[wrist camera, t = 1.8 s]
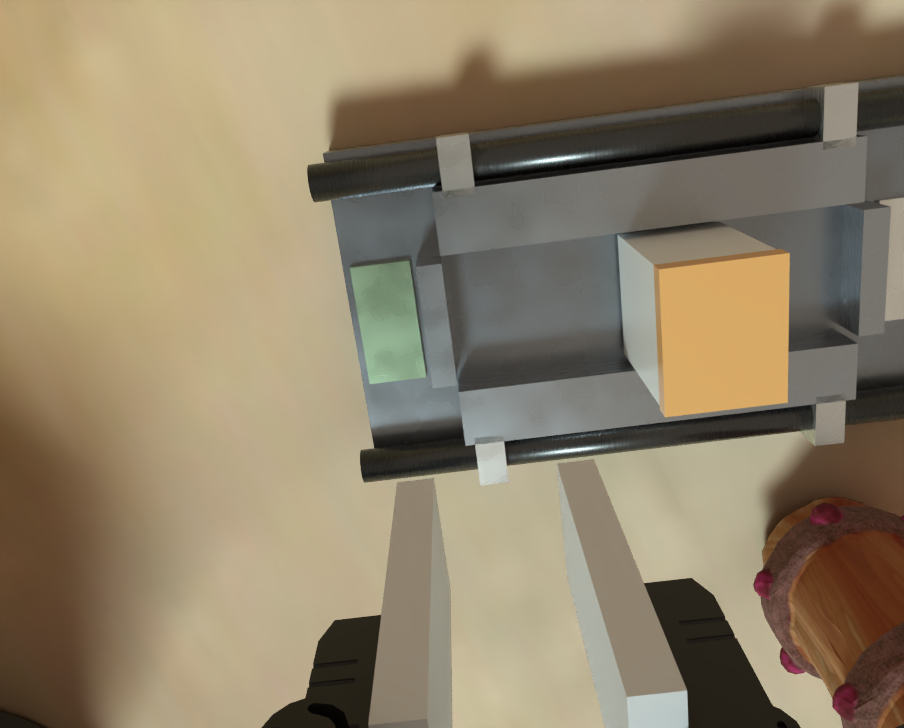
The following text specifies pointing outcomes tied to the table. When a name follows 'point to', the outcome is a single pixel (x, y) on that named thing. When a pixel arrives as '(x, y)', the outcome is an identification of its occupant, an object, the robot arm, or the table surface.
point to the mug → (840, 605)
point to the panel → (612, 272)
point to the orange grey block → (705, 317)
